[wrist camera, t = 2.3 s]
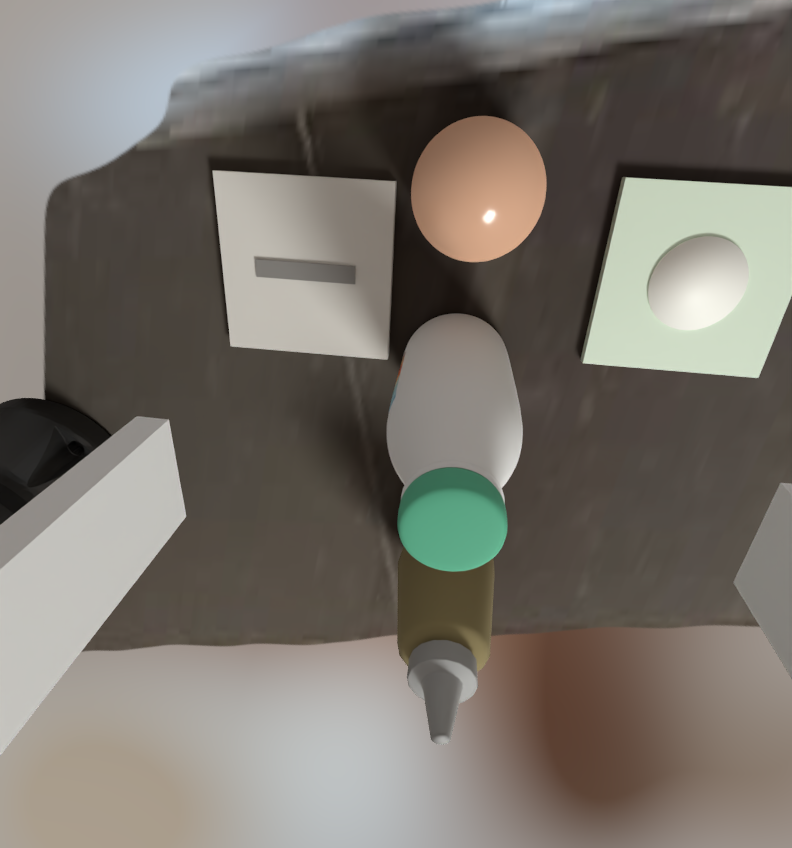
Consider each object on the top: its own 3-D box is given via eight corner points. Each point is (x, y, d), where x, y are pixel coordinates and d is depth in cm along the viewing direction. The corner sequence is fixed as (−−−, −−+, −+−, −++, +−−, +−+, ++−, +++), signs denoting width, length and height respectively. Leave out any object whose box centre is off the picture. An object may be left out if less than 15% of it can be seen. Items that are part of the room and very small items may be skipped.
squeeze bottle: (439, 586, 50) (430, 791, 34) (383, 531, 47) (345, 724, 31) (510, 548, 47) (537, 753, 31) (455, 487, 44) (452, 675, 28)
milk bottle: (418, 298, 37) (381, 430, 20) (522, 326, 37) (579, 482, 20) (393, 393, 41) (343, 577, 23) (488, 418, 41) (510, 620, 23)
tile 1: (234, 342, 40) (229, 347, 39) (217, 170, 35) (211, 170, 34) (388, 356, 39) (387, 360, 38) (396, 181, 34) (395, 181, 33)
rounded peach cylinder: (416, 239, 35) (407, 257, 29) (424, 119, 32) (415, 112, 26) (520, 246, 35) (533, 266, 29) (539, 125, 32) (558, 119, 25)
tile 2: (580, 359, 38) (583, 364, 37) (622, 177, 32) (626, 177, 31) (752, 373, 37) (759, 378, 36) (825, 188, 31) (836, 189, 31)
